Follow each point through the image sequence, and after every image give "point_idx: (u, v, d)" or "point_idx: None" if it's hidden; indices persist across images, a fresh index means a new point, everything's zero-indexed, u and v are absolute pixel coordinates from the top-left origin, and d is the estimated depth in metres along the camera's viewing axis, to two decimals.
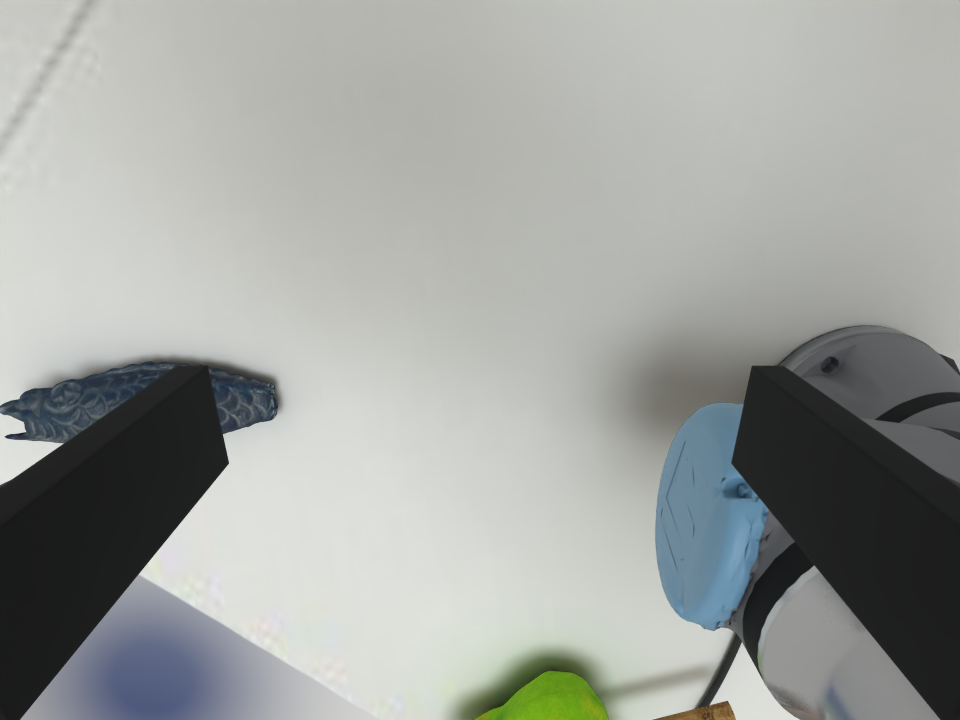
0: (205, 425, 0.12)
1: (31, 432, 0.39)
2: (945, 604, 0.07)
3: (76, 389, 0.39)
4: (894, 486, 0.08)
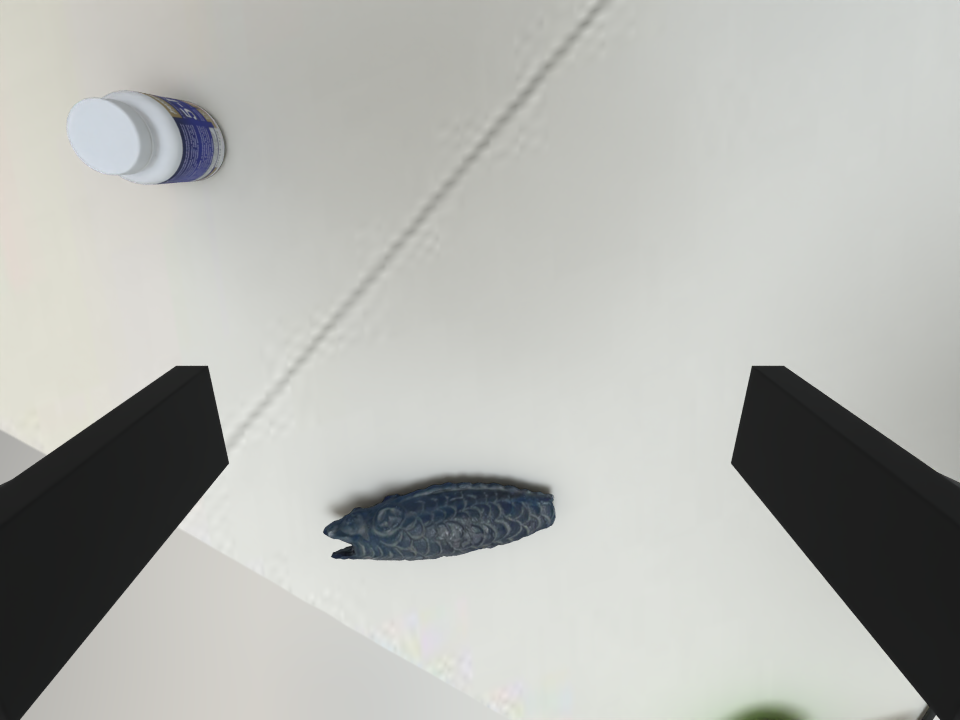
0: (205, 425, 0.12)
1: (361, 554, 0.44)
2: (945, 604, 0.07)
3: (397, 514, 0.44)
4: (894, 486, 0.08)
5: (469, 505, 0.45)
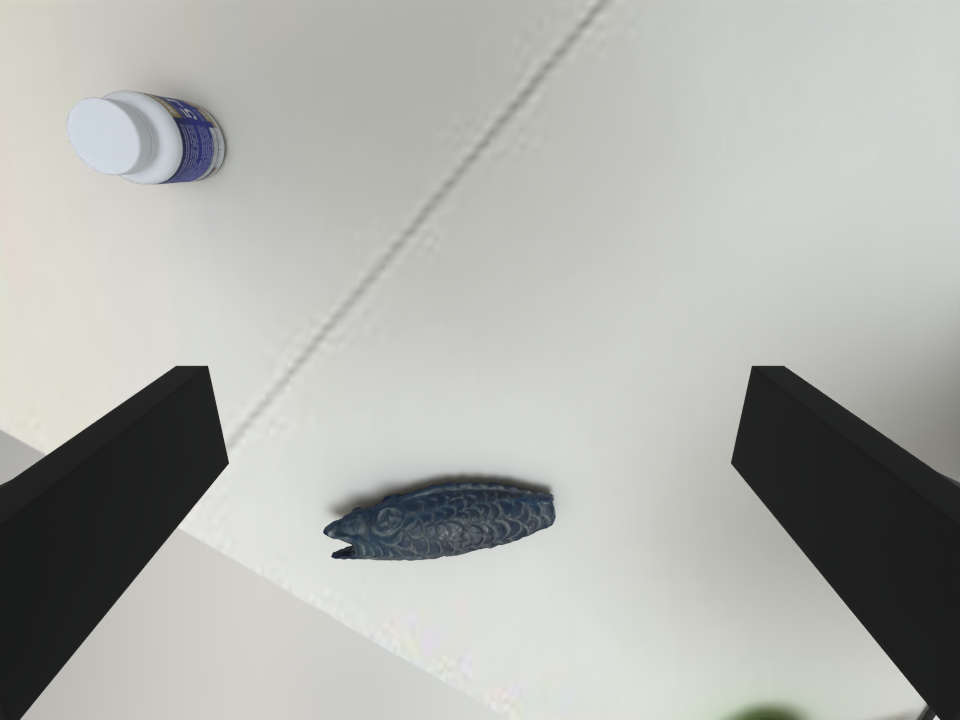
0: (205, 425, 0.12)
1: (361, 554, 0.44)
2: (945, 604, 0.07)
3: (397, 514, 0.44)
4: (894, 486, 0.08)
5: (469, 505, 0.45)
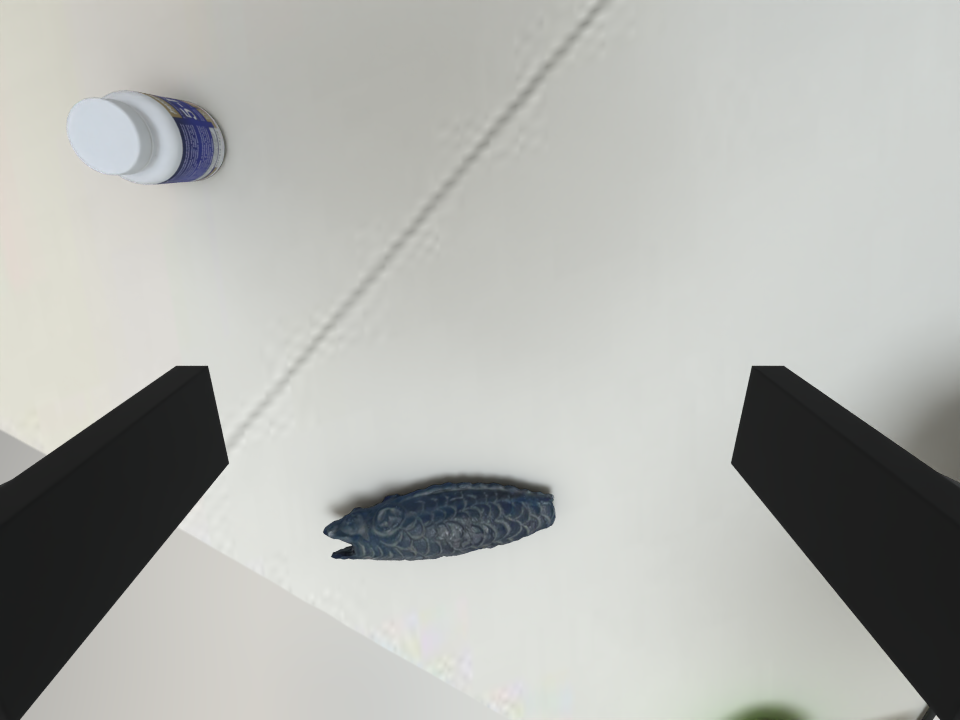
0: (205, 425, 0.12)
1: (361, 554, 0.44)
2: (945, 604, 0.07)
3: (397, 514, 0.44)
4: (894, 486, 0.08)
5: (469, 505, 0.45)
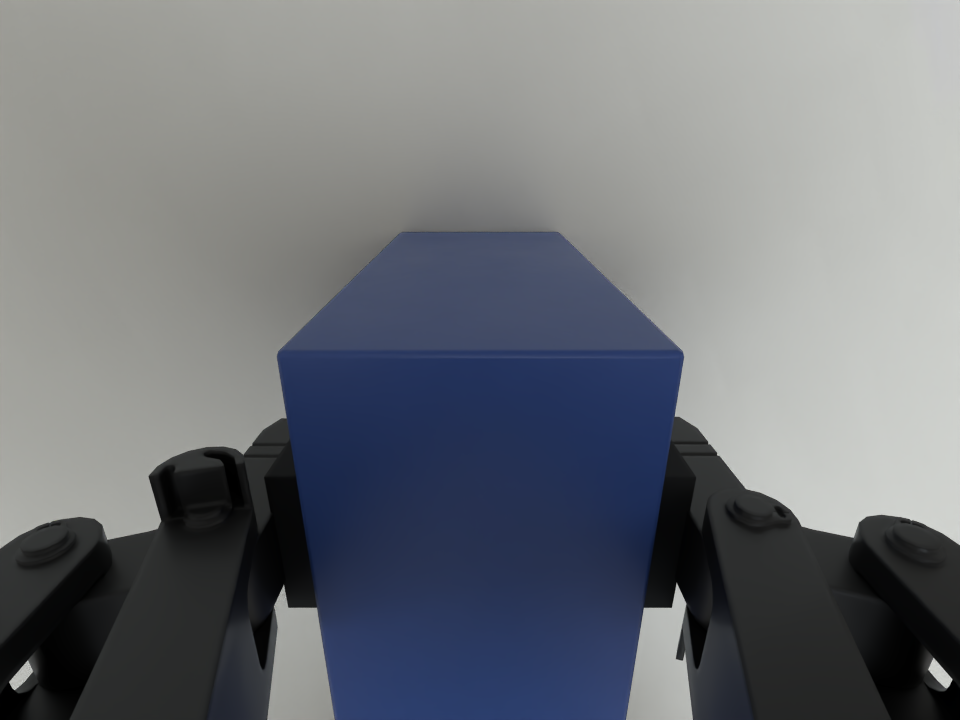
0: None
1: None
2: None
3: None
4: None
5: None
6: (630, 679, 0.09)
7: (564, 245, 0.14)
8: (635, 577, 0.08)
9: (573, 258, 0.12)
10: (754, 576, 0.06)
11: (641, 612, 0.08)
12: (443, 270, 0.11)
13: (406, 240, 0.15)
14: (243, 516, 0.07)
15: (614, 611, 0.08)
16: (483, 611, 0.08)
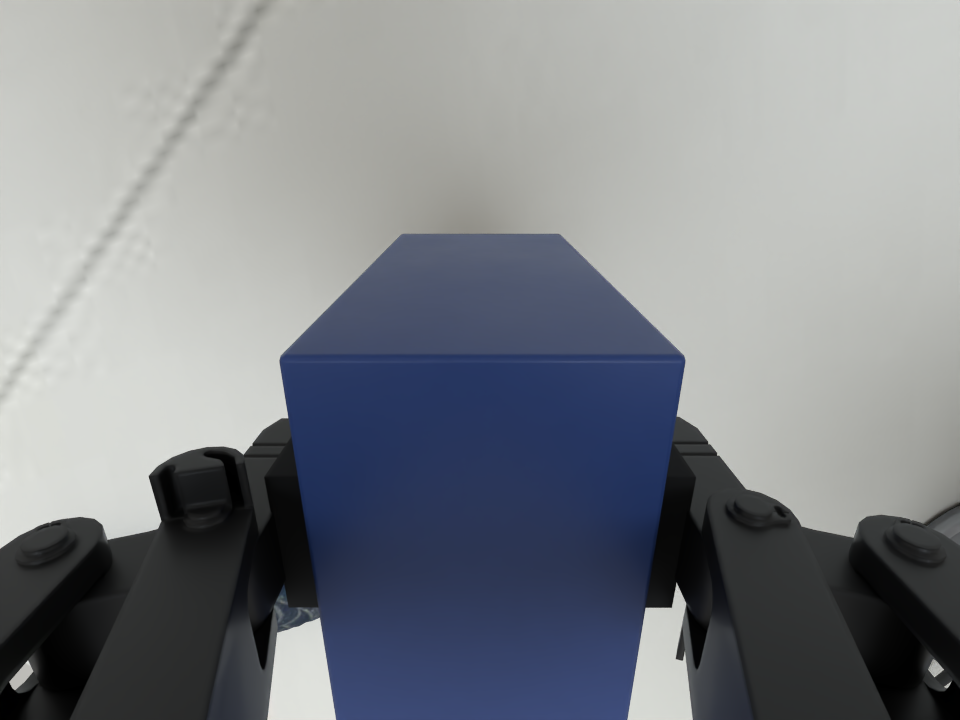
0: None
1: None
2: None
3: None
4: None
5: None
6: (631, 681, 0.09)
7: (565, 247, 0.14)
8: (636, 580, 0.08)
9: (574, 260, 0.12)
10: (754, 576, 0.06)
11: (642, 615, 0.08)
12: (444, 273, 0.11)
13: (407, 242, 0.15)
14: (244, 516, 0.07)
15: (615, 614, 0.08)
16: (485, 614, 0.08)
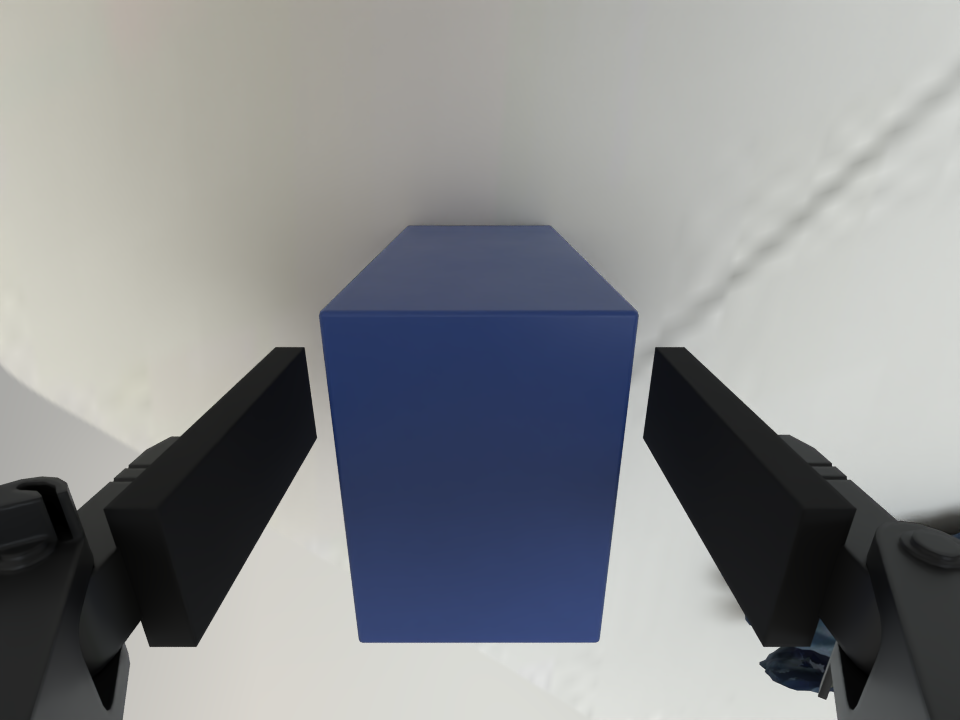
0: (303, 401, 0.13)
1: None
2: (761, 540, 0.08)
3: None
4: (735, 443, 0.09)
5: None
6: (603, 591, 0.10)
7: (554, 236, 0.16)
8: (605, 500, 0.10)
9: (560, 246, 0.14)
10: (938, 619, 0.06)
11: (610, 531, 0.10)
12: (447, 255, 0.13)
13: (413, 232, 0.17)
14: (71, 549, 0.07)
15: (588, 530, 0.10)
16: (481, 530, 0.10)
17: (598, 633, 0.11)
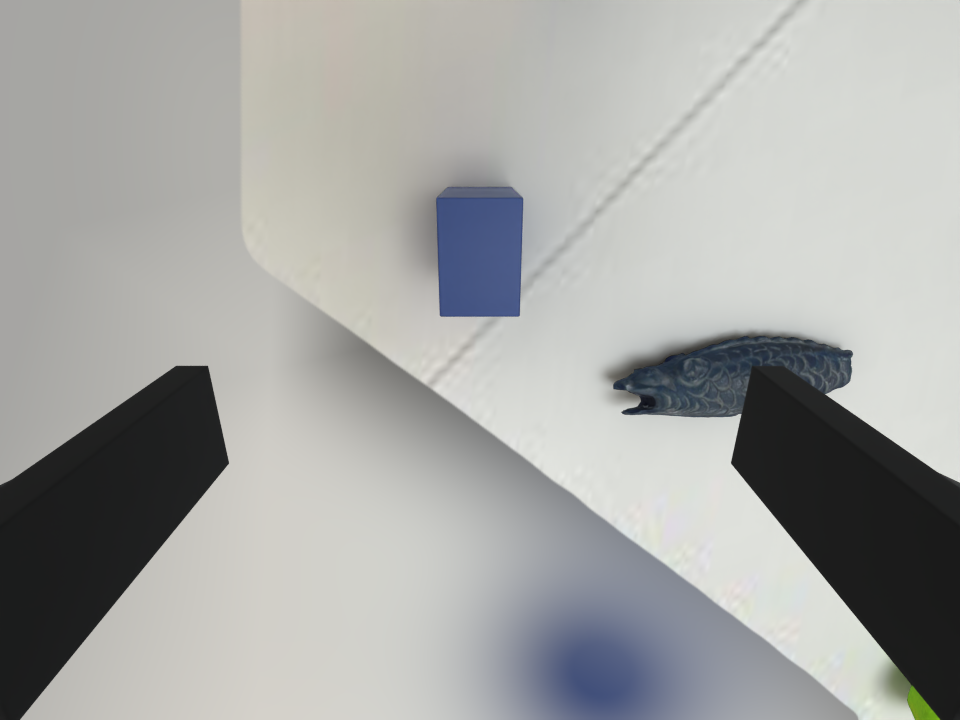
0: (205, 425, 0.12)
1: (665, 406, 0.42)
2: (945, 604, 0.07)
3: (704, 363, 0.42)
4: (894, 486, 0.08)
5: (774, 356, 0.43)
6: (519, 294, 0.33)
7: (510, 189, 0.38)
8: (517, 259, 0.32)
9: (511, 190, 0.36)
10: None
11: (520, 270, 0.32)
12: (468, 192, 0.35)
13: (451, 188, 0.39)
14: None
15: (513, 270, 0.32)
16: (480, 270, 0.32)
17: (518, 312, 0.33)
